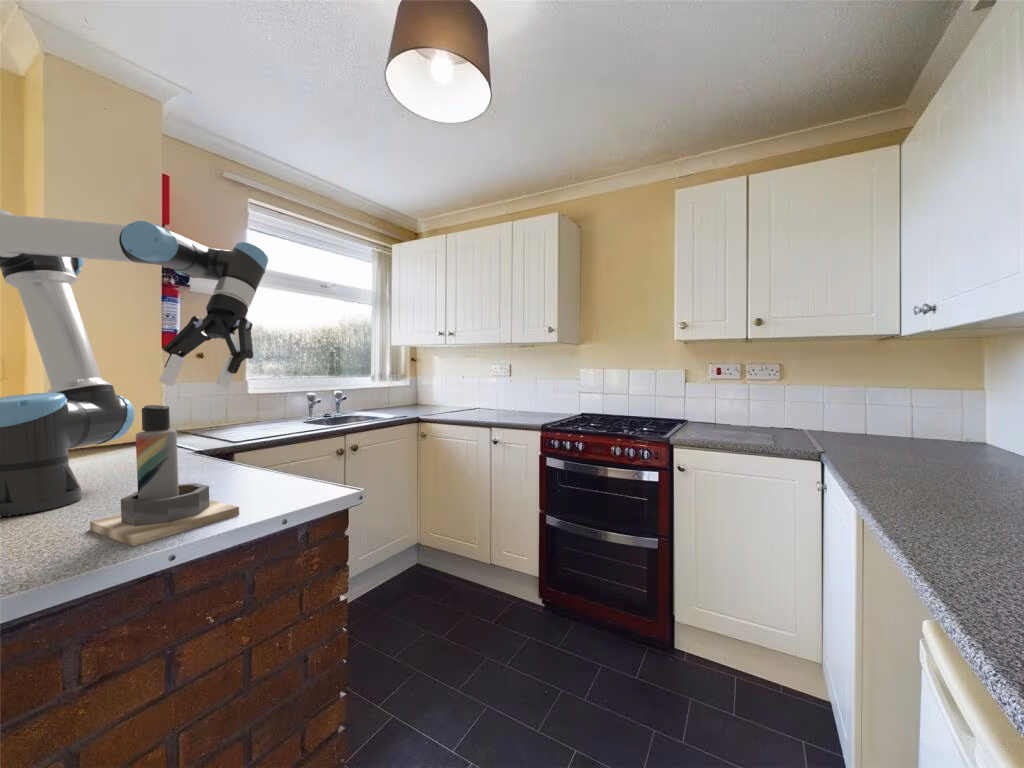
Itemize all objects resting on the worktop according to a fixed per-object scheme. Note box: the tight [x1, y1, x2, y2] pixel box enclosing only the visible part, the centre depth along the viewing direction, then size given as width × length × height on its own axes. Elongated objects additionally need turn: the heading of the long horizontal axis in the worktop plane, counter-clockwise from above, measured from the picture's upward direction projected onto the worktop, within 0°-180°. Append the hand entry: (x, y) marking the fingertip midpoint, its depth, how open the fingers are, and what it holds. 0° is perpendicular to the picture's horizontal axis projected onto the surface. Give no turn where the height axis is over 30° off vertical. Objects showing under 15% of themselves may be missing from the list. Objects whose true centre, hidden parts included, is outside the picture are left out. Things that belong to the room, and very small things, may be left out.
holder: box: [89, 482, 240, 547], centre depth 75 cm, size 16×16×6 cm
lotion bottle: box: [135, 404, 180, 500], centre depth 75 cm, size 6×6×20 cm
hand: (193, 385), depth 87 cm, fingers open, 13 cm apart
